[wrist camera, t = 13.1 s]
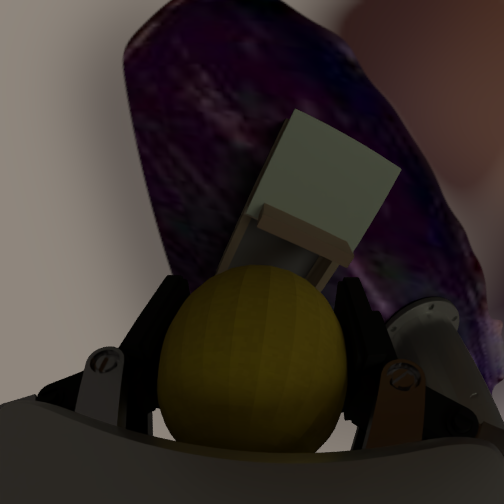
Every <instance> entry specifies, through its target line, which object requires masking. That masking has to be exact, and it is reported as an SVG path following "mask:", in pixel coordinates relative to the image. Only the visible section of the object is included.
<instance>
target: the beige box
mask: <svg viewBox="0 0 504 504" xmlns="http://www.w3.org/2000/svg"><path fill="white" fill-rule="evenodd" d="M288 122H289V119H285V121H284V123H283V125H282V128H281V130H280V132H279V134H278V136H277V138H276V140H275V142H274V144H273V146H272V149H271V151H270V153H269V155H268V157H267V159H266V161H265V163H264V166H263V168H262V170H261V172H260V174H259V176H258V178H257V181H256V183H255V185H254V187H253V189H252V191H251V194H250V196H249V198H248V200H247V202H246V205H245V207H244V209H243V211H242V213H241V216H240V218H239V220H238V222H237V224H236V227H235V229H234V231H233V233H232V236H231V238H230V240H229V242H228V245H227V247H226V249H225V251H224V254H223V256H222V258H221V261H220V263H219V265H218V268H217V270H216V273H215V275H217V274H220V273H222V272H224V271H226V270H229V269H231V268H235V267H240V266H246V265H269V266H274V267H278V268H281V269H285V270H289V271H291V272H293V273H295V274H297V275H298V276H300V277H302V278H304V279H306V280H307V281H308V282H310V283H311V284H312V285H313V286H314V287H315V288H316V289H317V290H318V291H319V292H321V291H322V290H323V288H324V287H325V285H326V284H327V282H328V281H329V279H330V278H331V276H332V275H333V273H334V272H335V270H336V269H337V267H338V266H339V264H338V263H336V262H333V261H331V260H329V259H327V258H325V257H322V256H320V255H318V254H316V253H314V252H311V251H309V250H307V249H305V248H303V247H300V246H298V245H296V244H294V243H291V242H289V241H287V240H285V239H282V238H280V237H278V236H276V235H273V234H271V233H269V232H267V231H264V230H262V229H260V228H258V227H257V222H258V218H256V217H253V216H251V215H249V214H246V211H247V208H248V206H249V204H250V202H251V200H252V198H253V195H254V193H255V191H256V189H257V187H258V185H259V182H260V180H261V178H262V176H263V174H264V172H265V170H266V168H267V165H268V163H269V161H270V159H271V157H272V155H273V153H274V151H275V149H276V146H277V144H278V142H279V140H280V138H281V136H282V134H283V132H284V130H285V128H286V126H287V124H288Z"/></svg>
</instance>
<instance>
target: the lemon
mask: <svg viewBox="0 0 504 504" xmlns="http://www.w3.org/2000/svg"><path fill="white" fill-rule="evenodd" d="M347 385H348V358H347V351H346V345H345V338H344V334H343V331H342V328H341V325H340V323H339V321H338V319H337V317H336V315H335V313H334V312H333V310H332V308H331V306H330V305H329V303H328V301H327V300H326V298H325V297H324V296H323V295H322V294H321V293H320V292H319V291H318V290H317V289H316V288H315V287H314V286H313V285H312V284H311V283H310V282H308V281H307V280H306V279H304V278H302V277H300V276H298V275H297V274H295V273H293V272H291V271H289V270H285V269H281V268H278V267H274V266H269V265H246V266H240V267H235V268H231V269H229V270H226V271H224V272H222V273H220V274H217V275H215V276H213V277H211V278H210V279H208V280H207V281H206V282H205V283H203V284H202V285H201V286H200V287H199V288H197V289H196V290H195V291H194V292H193V293H191V295H190V296H189V297H188V298H187V299H186V300H185V302H184V303H183V304H182V306H181V307H180V309H179V311H178V312H177V314H176V316H175V317H174V319H173V321H172V322H171V324H170V326H169V328H168V331H167V333H166V335H165V338H164V342H163V345H162V350H161V355H160V362H159V369H158V378H157V396H158V404H159V407H160V410H161V414H162V416H163V419H164V422H165V424H166V426H167V428H168V430H169V432H170V433H171V435H172V436H173V438H174V439H175V440H176V441H177V442H182V443H188V444H193V445H199V446H206V447H213V448H220V449H229V450H238V451H250V452H267V453H315V452H316V451H317V450H318V449H319V448H320V447H321V446H322V445H323V444H324V443H325V442H326V441H327V439H328V438H329V437H330V435H331V434H332V432H333V431H334V429H335V427H336V424H337V422H338V420H339V417H340V414H341V411H342V408H343V405H344V401H345V397H346V392H347Z"/></svg>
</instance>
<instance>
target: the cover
mask: <svg viewBox="0 0 504 504" xmlns="http://www.w3.org/2000/svg"><path fill="white" fill-rule="evenodd" d="M400 171H401V169H400V168H399V167H397V166H396V165H394V164H393V163H391V162H390V161H388V160H387V159H385V158H384V157H382V156H381V155H379V154H377V153H376V152H374V151H373V150H371V149H369V148H368V147H366V146H364V145H363V144H361V143H359V142H358V141H356V140H354V139H352V138H351V137H349V136H347V135H345V134H344V133H342V132H340V131H338V130H336V129H334V128H333V127H331V126H329V125H327V124H325V123H323V122H321V121H319V120H317V119H315V118H313V117H311V116H309V115H307V114H305V113H303V112H301V111H299V110H297V109H294V111H293V113H292V115H291V117H290V120H289V122H288V124H287V126H286V128H285V130H284V132H283V134H282V136H281V138H280V140H279V142H278V144H277V146H276V149H275V151H274V153H273V155H272V157H271V159H270V161H269V163H268V165H267V168H266V170H265V172H264V174H263V176H262V178H261V180H260V182H259V185H258V187H257V189H256V191H255V193H254V195H253V198H252V200H251V202H250V204H249V206H248V208H247V211H246V214H249V215H251V216H253V217H256V218H258V222H257V227H258V228H260V229H262V230H264V231H267V232H269V233H271V234H273V235H276V236H278V237H280V238H282V239H285V240H287V241H289V242H291V243H294V244H296V245H298V246H300V247H303V248H305V249H307V250H309V251H311V252H314V253H316V254H318V255H320V256H322V257H325V258H327V259H329V260H331V261H333V262H336V263H338V264H340V265H342V266H344V267H346V268H347V267H348V266H349V264H350V263H351V261H352V260H353V258H354V255H353V251H354V250H355V248H356V246H357V245H358V243H359V242H360V240H361V238H362V237H363V235H364V234H365V232H366V230H367V229H368V227H369V225H370V224H371V222H372V220H373V219H374V217H375V215H376V214H377V212H378V210H379V209H380V207H381V205H382V203H383V202H384V200H385V198H386V197H387V195H388V193H389V191H390V189H391V188H392V186H393V184H394V182H395V180H396V179H397V177H398V175H399V173H400Z"/></svg>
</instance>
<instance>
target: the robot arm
mask: <svg viewBox="0 0 504 504" xmlns="http://www.w3.org/2000/svg"><path fill="white" fill-rule="evenodd" d="M189 296H190V292H189V286H188V282H187V280H186V279H183V277H182V276H180V275H167V276H166V278H165V279H164V280H163V282H162V284H161V285H160V286H159V288H158V289H157V291H156V292H155V294H154V295H153V296H152V298H151V299H150V301H149V302H148V304H147V305H146V307H145V308H144V309H143V311H142V312H141V314H140V316H139V317H138V318H137V320H136V322H135V323H134V325H133V326H132V328H131V329H130V331H129V332H128V334H127V335H126V337H125V339H124V340H123V342H122V343H121V345H120V346H119V348H116V347H103V348H100V349H98V350H96V351H94V352H93V353H92V354H91V355H90V356H89V357H88V359H87V361H86V365H85V369H84V371H82V372H79V373H77V374H75V375H72V376H69V377H67V378H64V379H61V380H59V381H56V382H54V383H51V384H49V385H47V386H45V387H44V388H43V389H41V391H40V392H39V394H38V396H36V395H35V394H34V395H31V396H27V397H25V398H21V399H17V400H14V401H11V402H7V403H3V404H2V405H0V504H504V422H503V420H502V418H501V415H500V413H499V411H498V408H497V406H496V404H495V402H494V400H493V398H492V396H491V394H490V391H489V389H488V387H487V385H486V383H485V381H484V379H483V377H482V375H481V373H480V371H479V369H478V368H477V366H476V364H475V362H474V360H473V358H472V357H471V355H470V353H469V351H468V349H467V348H466V346H465V344H464V342H463V341H462V339H461V337H460V336H459V334H458V332H457V329H458V325H459V314H458V311H457V309H456V308H455V306H454V305H453V304H452V303H451V302H450V301H449V300H447V299H445V298H441V297H430V298H425V299H422V300H419V301H416V302H414V303H412V304H410V305H408V306H406V307H405V308H403V309H402V310H400V311H399V312H398V313H397V314H396V315H394V316H393V317H392V318H391V319H390V320H389V321H388V322H387V324H386V325H385V323H384V320H383V318H382V315H381V313H380V312H379V311H372V310H371V307H370V305H369V302H368V299H367V297H366V294H365V292H364V289H363V287H362V284H361V282H360V279H359V278H358V277H344V278H343V281H339V282H338V286H337V294H336V301H335V308H334V313H335V315H336V317H337V319H338V321H339V323H340V325H341V328H342V331H343V334H344V338H345V345H346V351H347V358H348V385H347V392H346V397H345V401H344V405H343V408H342V411H341V413H342V412H344V419H345V420H351V421H352V423H353V424H355V425H356V426H357V430H356V433H355V437H354V440H353V444H352V447H351V450H350V451H340V452H325V453H267V452H250V451H238V450H229V449H220V448H213V447H206V446H199V445H193V444H188V443H182V442H177V441H172V440H167V439H163V438H158V437H154V436H153V422H152V421H153V420H152V411H154V410H155V409H156V408H159V409H160V407H159V404H158V396H157V378H158V369H159V362H160V355H161V350H162V345H163V342H164V338H165V335H166V333H167V331H168V328H169V326H170V324H171V322H172V321H173V319H174V317H175V316H176V314H177V312H178V311H179V309H180V307H181V306H182V304H183V303H184V302H185V300H186V299H187V298H188V297H189Z"/></svg>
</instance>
